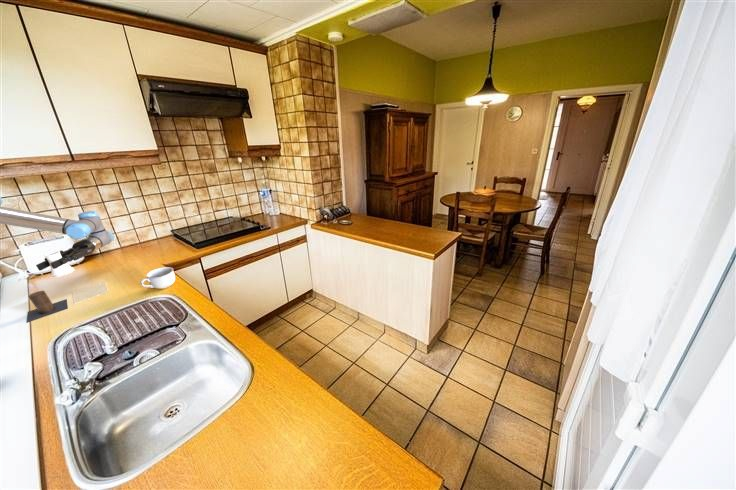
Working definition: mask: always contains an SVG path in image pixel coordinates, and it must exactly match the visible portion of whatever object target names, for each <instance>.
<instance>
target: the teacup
mask: <svg viewBox="0 0 736 490" xmlns="http://www.w3.org/2000/svg"><path fill="white" fill-rule="evenodd" d="M176 279H177V278H176V274H175V271H174V268H173V267H171V266H162V267H158V268H155V269H152V270H150V271H149V272H147V273H146V277H145V278H142V279H141V280H140V285H141V287H144V288H150V289H153V288H154V289H157V290H164V289H168V288H170V287H171V286H172V285H173V284H174V283H175V282H176ZM145 281H147V282H148V283H149V284H144V283H145Z"/></svg>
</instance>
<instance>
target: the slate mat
mask: <svg viewBox="0 0 736 490" xmlns="http://www.w3.org/2000/svg"><path fill="white" fill-rule="evenodd" d="M52 304H53V305H54V307H55V310H53V311H51V312H49V313H46V314H40V313H39V312H38V310H37V309H36V308H35V309H31V310H29V311H27V315H26V322H25V323H26V324H28V323H31V322H34V321H37V320H39V319H42V318H45V317H48V316H51V315H54V314H57V313H59V312H60V313H61V312H63V311H66V310H68V309H69V305H68V299H67V298H66V299H65V298H64V299H62V300H60V301H57V302H52Z"/></svg>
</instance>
